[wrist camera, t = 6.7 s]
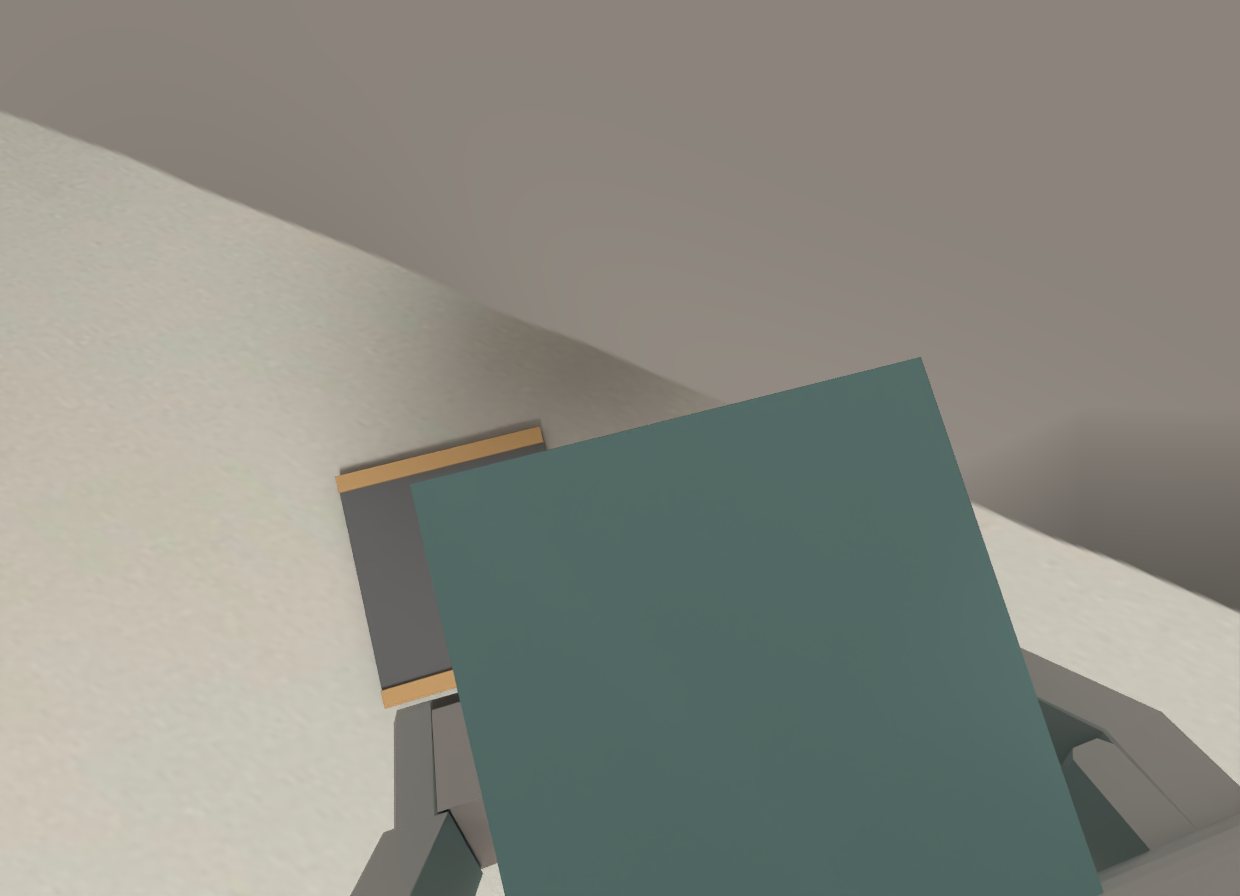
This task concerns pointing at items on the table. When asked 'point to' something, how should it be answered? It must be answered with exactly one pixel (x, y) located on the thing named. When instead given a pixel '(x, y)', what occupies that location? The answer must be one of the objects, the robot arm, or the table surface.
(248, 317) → the table surface
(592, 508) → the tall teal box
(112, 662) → the table surface
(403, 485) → the mat
